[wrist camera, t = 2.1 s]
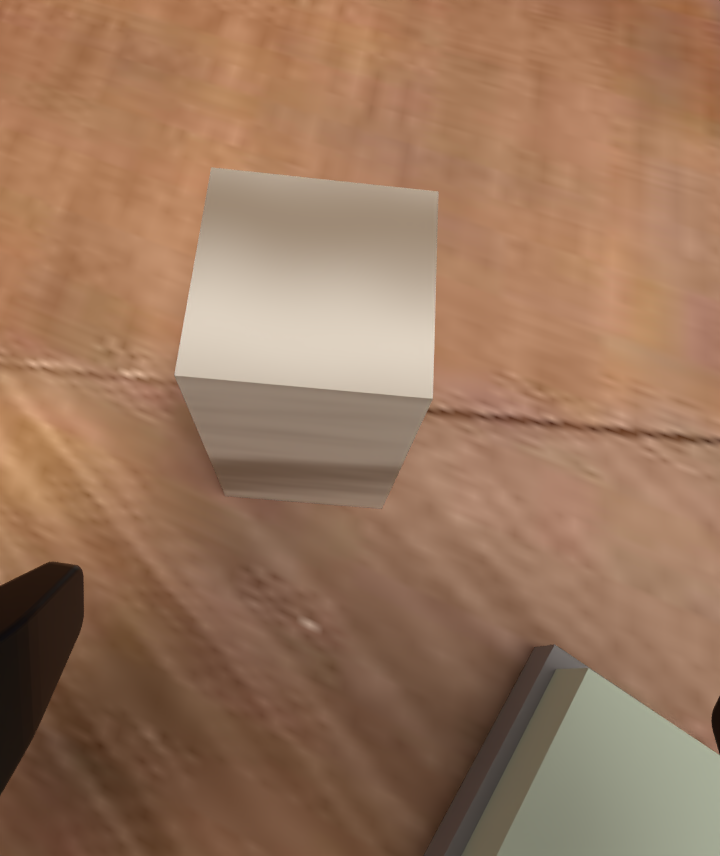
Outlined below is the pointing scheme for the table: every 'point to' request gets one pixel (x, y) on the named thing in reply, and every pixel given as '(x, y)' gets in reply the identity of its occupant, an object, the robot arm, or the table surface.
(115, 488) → the table surface
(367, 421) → the tall block
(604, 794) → the top tile
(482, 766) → the base tile
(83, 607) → the robot arm
